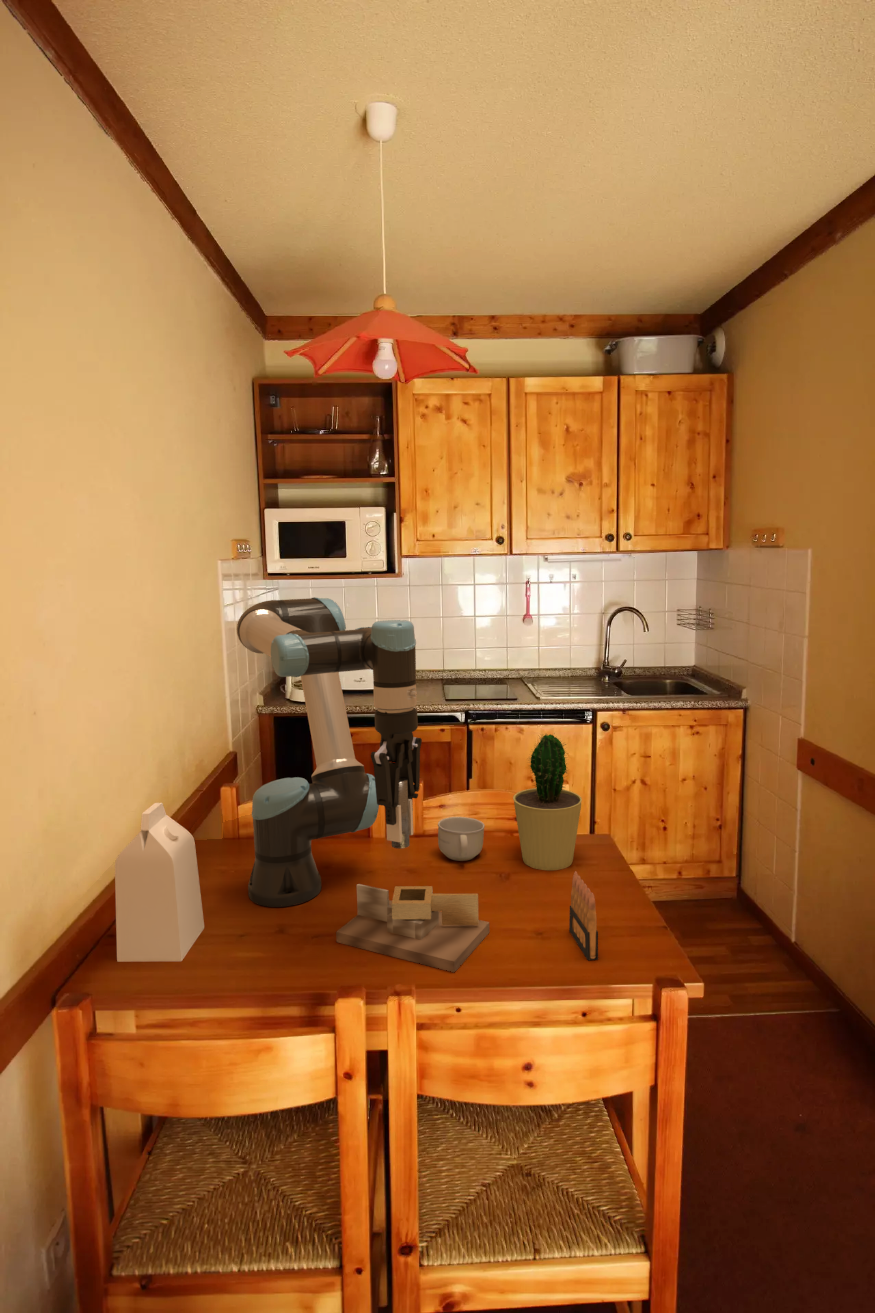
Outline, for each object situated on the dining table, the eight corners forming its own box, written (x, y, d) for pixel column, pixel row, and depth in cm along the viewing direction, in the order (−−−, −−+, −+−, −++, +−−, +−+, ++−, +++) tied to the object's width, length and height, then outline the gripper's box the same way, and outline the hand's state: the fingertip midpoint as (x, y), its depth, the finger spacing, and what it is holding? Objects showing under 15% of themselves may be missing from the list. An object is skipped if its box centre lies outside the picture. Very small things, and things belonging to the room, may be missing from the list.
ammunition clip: (598, 960, 130) (599, 894, 129) (588, 961, 130) (588, 895, 129) (578, 930, 141) (578, 868, 139) (569, 930, 141) (569, 869, 139)
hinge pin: (388, 846, 135) (385, 781, 134) (397, 840, 138) (395, 777, 136) (403, 849, 134) (401, 783, 132) (412, 843, 136) (410, 779, 135)
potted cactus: (526, 843, 183) (525, 722, 179) (588, 853, 176) (589, 727, 172) (503, 867, 169) (502, 737, 165) (571, 879, 163) (571, 743, 159)
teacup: (441, 846, 182) (441, 814, 181) (486, 847, 181) (486, 815, 180) (433, 870, 169) (432, 836, 168) (481, 872, 167) (481, 837, 166)
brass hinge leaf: (392, 934, 136) (391, 903, 135) (396, 915, 143) (395, 886, 142) (478, 933, 135) (478, 903, 134) (478, 915, 142) (477, 886, 141)
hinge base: (336, 942, 138) (334, 900, 137) (379, 907, 152) (378, 869, 150) (454, 972, 127) (453, 928, 126) (489, 932, 141) (488, 891, 140)
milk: (145, 928, 145) (135, 797, 142) (204, 927, 145) (195, 797, 141) (117, 961, 133) (105, 820, 130) (181, 961, 133) (171, 819, 129)
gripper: (388, 719, 124) (393, 856, 127) (437, 701, 138) (440, 825, 141) (351, 715, 127) (356, 849, 130) (402, 699, 141) (406, 820, 144)
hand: (400, 836), depth 136 cm, fingers closed on hinge pin, 3 cm apart
